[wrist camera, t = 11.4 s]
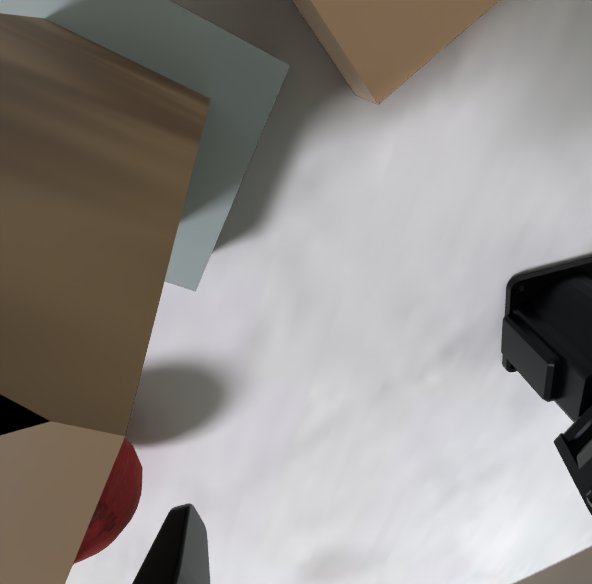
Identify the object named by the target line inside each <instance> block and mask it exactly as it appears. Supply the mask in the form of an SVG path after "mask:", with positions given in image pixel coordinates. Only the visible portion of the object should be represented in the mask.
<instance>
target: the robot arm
mask: <svg viewBox="0 0 592 584" xmlns="http://www.w3.org/2000/svg"><path fill="white" fill-rule="evenodd" d="M518 285H519V287H518V288H516V287H517V286H518ZM515 288H516V289H515ZM501 352H502V354H503V360H502V364H503V367H504V368H505V369H506V370H507V371H508V372H515V371H518V372H519V373H520V374H521V375H522V376H523V378H524V379H525V380H526V381H527V382H528V383H529V384H530V386H531V387H532V388H533V389H534V390H535V391H536V392H537V393H538V395H539V396H540V397H541V398H542V399H544V400H545V401H547V402H550V401H555V402H556V403H557V404H558V406H559V407H560V408H561V409H562V410H563V411H564V412H565V413H566V414H567V415H568V417H569V418H570V419H571V420H572V421H573V422H574V423H573V424H572V425H571V426H570V427H569V428H568V430H567V431H566V432H565V433H564V434H563V433H561V434H560V435H559V436H558V437H557V438H556V439H555V440H554V444H555V446H556V447H557V449H558V451H559V453H560V455H561V457H562V459H563V461H564V463H565V465H566V467H567V469H568V471H569V473H570V475H571V477H572V479H573V481H574V483H575V485H576V487H577V488H578V490H579V492H580V494H581V496H582V498H583V500H584V502H585V504H586V506H587V508H588V510H589V512H590V513H591V515H592V257H591V258H587V259H583V260H579V261H576V262H572V263H568V264H564V265H560V266H556V267H552V268H549V269H545V270H541V271H537V272H533V273H529V274H526V275H522V276H518V277H515V278H512V279H511V280H510V281H509V282H508V284H507V287H506V303H505V316H504V318H503V326H502V346H501ZM132 584H210V572H209V557H208V542H207V532H206V528H205V525H204V523H203V521H202V519H201V518H200V516H199V514H198V513H197V511H196V509H195V507H194V506H193V505H192V504H190V503H189V504H185V505H181V506H177V507H174V508H172V509H171V510H170V512H169V513H168V515H167V517H166V519H165V521H164V523H163V525H162V527H161V529H160V531H159V533H158V535H157V537H156V539H155V540H154V542H153V544H152V546H151V548H150V550H149V552H148V554H147V556H146V558H145V560H144V562H143V564H142V566H141V568H140V570H139V572H138V574H137V576H136V577H135V579H134V581H133V583H132Z"/></svg>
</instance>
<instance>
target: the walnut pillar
mask: <svg viewBox="0 0 592 584" xmlns="http://www.w3.org/2000/svg"><path fill="white" fill-rule="evenodd" d="M209 103H210V98H208V97H206V96H204V95H202V94H200V93H198V92H196V91H194V90H192V89H190V88H188V87H185V86H183V85H181V84H179V83H177V82H175V81H173V80H171V79H169V78H167V77H165V76H163V75H161V74H159V73H156V72H154V71H152V70H150V69H148V68H146V67H144V66H142V65H140V64H138V63H136V62H134V61H132V60H130V59H128V58H125V57H123V56H121V55H119V54H117V53H115V52H113V51H111V50H109V49H107V48H105V47H103V46H101V45H99V44H96V43H94V42H92V41H90V40H88V39H86V38H84V37H82V36H80V35H78V34H76V33H74V32H72V31H70V30H68V29H65V28H63V27H61V26H59V25H57V24H55V23H53V22H51V21H49V20H47V19H45V18H37V17H28V16H20V15H11V14H2V13H0V584H65V582H66V580H67V577H68V575H69V572H70V570H71V568H72V565H73V563H74V560H75V558H76V555H77V553H78V550H79V548H80V546H81V543H82V541H83V538H84V536H85V533H86V531H87V528H88V526H89V524H90V521H91V519H92V516H93V514H94V511H95V509H96V506H97V504H98V502H99V499H100V497H101V494H102V492H103V489H104V487H105V484H106V482H107V479H108V477H109V475H110V472H111V470H112V467H113V465H114V462H115V460H116V457H117V455H118V453H119V450H120V448H121V445H122V443H123V440H124V438H125V435H126V431H127V427H128V423H129V419H130V415H131V411H132V407H133V403H134V399H135V395H136V391H137V387H138V384H139V380H140V376H141V372H142V368H143V364H144V360H145V356H146V352H147V348H148V344H149V340H150V336H151V332H152V328H153V324H154V320H155V316H156V312H157V308H158V305H159V301H160V297H161V293H162V289H163V285H164V281H165V277H166V273H167V269H168V265H169V261H170V257H171V253H172V249H173V245H174V241H175V237H176V233H177V229H178V226H179V222H180V218H181V214H182V210H183V206H184V202H185V198H186V194H187V190H188V186H189V182H190V178H191V174H192V170H193V166H194V162H195V158H196V154H197V150H198V146H199V143H200V139H201V135H202V131H203V127H204V123H205V119H206V115H207V111H208V107H209Z"/></svg>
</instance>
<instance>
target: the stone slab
mask: <svg viewBox="0 0 592 584" xmlns="http://www.w3.org/2000/svg"><path fill="white" fill-rule="evenodd" d="M0 13H2V14H11V15H20V16H28V17H37V18H45V19H47V20H49V21H51V22H53V23H55V24H57V25H59V26H61V27H63V28H65V29H68V30H70V31H72V32H74V33H76V34H78V35H80V36H82V37H84V38H86V39H88V40H90V41H92V42H94V43H96V44H99V45H101V46H103V47H105V48H107V49H109V50H111V51H113V52H115V53H117V54H119V55H121V56H123V57H125V58H128V59H130V60H132V61H134V62H136V63H138V64H140V65H142V66H144V67H146V68H148V69H150V70H152V71H154V72H156V73H159V74H161V75H163V76H165V77H167V78H169V79H171V80H173V81H175V82H177V83H179V84H181V85H183V86H185V87H188V88H190V89H192V90H194V91H196V92H198V93H200V94H202V95H204V96H206V97H208V98H210V103H209V107H208V111H207V115H206V119H205V123H204V127H203V131H202V135H201V139H200V143H199V146H198V150H197V154H196V158H195V162H194V166H193V170H192V174H191V178H190V182H189V186H188V190H187V194H186V198H185V202H184V206H183V210H182V214H181V218H180V222H179V226H178V229H177V233H176V237H175V241H174V245H173V249H172V253H171V257H170V261H169V265H168V269H167V273H166V277H165V282H168V283H171V284H174V285H177V286H180V287H184V288H187V289H190V290H193V291H196V289H197V287H198V284H199V282H200V280H201V277H202V275H203V272H204V270H205V268H206V265H207V263H208V261H209V258H210V256H211V253H212V251H213V249H214V246H215V244H216V241H217V239H218V237H219V234H220V232H221V230H222V227H223V225H224V222H225V220H226V218H227V215H228V213H229V210H230V208H231V206H232V203H233V201H234V198H235V196H236V194H237V191H238V189H239V187H240V184H241V182H242V179H243V177H244V175H245V172H246V170H247V167H248V165H249V163H250V160H251V158H252V155H253V153H254V151H255V148H256V146H257V144H258V141H259V139H260V136H261V134H262V132H263V129H264V127H265V124H266V122H267V120H268V117H269V115H270V112H271V110H272V108H273V105H274V103H275V101H276V98H277V96H278V93H279V91H280V89H281V86H282V84H283V81H284V79H285V77H286V74H287V72H288V69H289V67H290V65H288V64H287V63H285V62H283V61H281V60H279V59H277V58H275V57H274V56H272V55H270V54H268V53H266V52H264V51H263V50H261V49H259V48H257V47H255V46H253V45H251V44H250V43H248V42H246V41H244V40H242V39H240V38H239V37H237V36H235V35H233V34H231V33H229V32H227V31H226V30H224V29H222V28H220V27H218V26H216V25H215V24H213V23H211V22H209V21H207V20H205V19H203V18H202V17H200V16H198V15H196V14H194V13H192V12H191V11H189V10H187V9H185V8H183V7H181V6H179V5H178V4H176V3H174V2H172V1H170V0H0Z"/></svg>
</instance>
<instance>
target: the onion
mask: <svg viewBox="0 0 592 584" xmlns="http://www.w3.org/2000/svg"><path fill="white" fill-rule="evenodd" d="M141 489H142V466H141V463H140V461H139V459H138V456H137V454H136V452H135V449H134V447H133V445H132V444H131V443H130V442H129V441H127V440H126V439H125V438H124V440H123V443H122V445H121V448H120V450H119V453H118V455H117V457H116V460H115V462H114V465H113V467H112V470H111V472H110V475H109V477H108V479H107V482H106V484H105V487H104V489H103V492H102V494H101V497H100V499H99V502H98V504H97V506H96V509H95V511H94V514H93V516H92V519H91V521H90V524H89V526H88V528H87V531H86V533H85V536H84V538H83V541H82V543H81V546H80V548H79V550H78V553H77V555H76V558H75V560H74V563H77V562H80V561H82V560H84V559H86V558H89V557H91V556H93V555H95V554H97V553H99V552H100V551H102V550H103V549H105V548H106V547H107V546H109V545H110V544H111V543H112V542H113V541H114V540H115V539H116V538H117V536H118V535H119V534H120V533H121V532H122V530H123V529H124V528H125V527H126V525H127V524H128V523H129V522H130V520H131V519H132V517H133V515H134V513H135V511H136V509H137V506H138V503H139V500H140V496H141ZM74 563H73V564H74Z"/></svg>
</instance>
